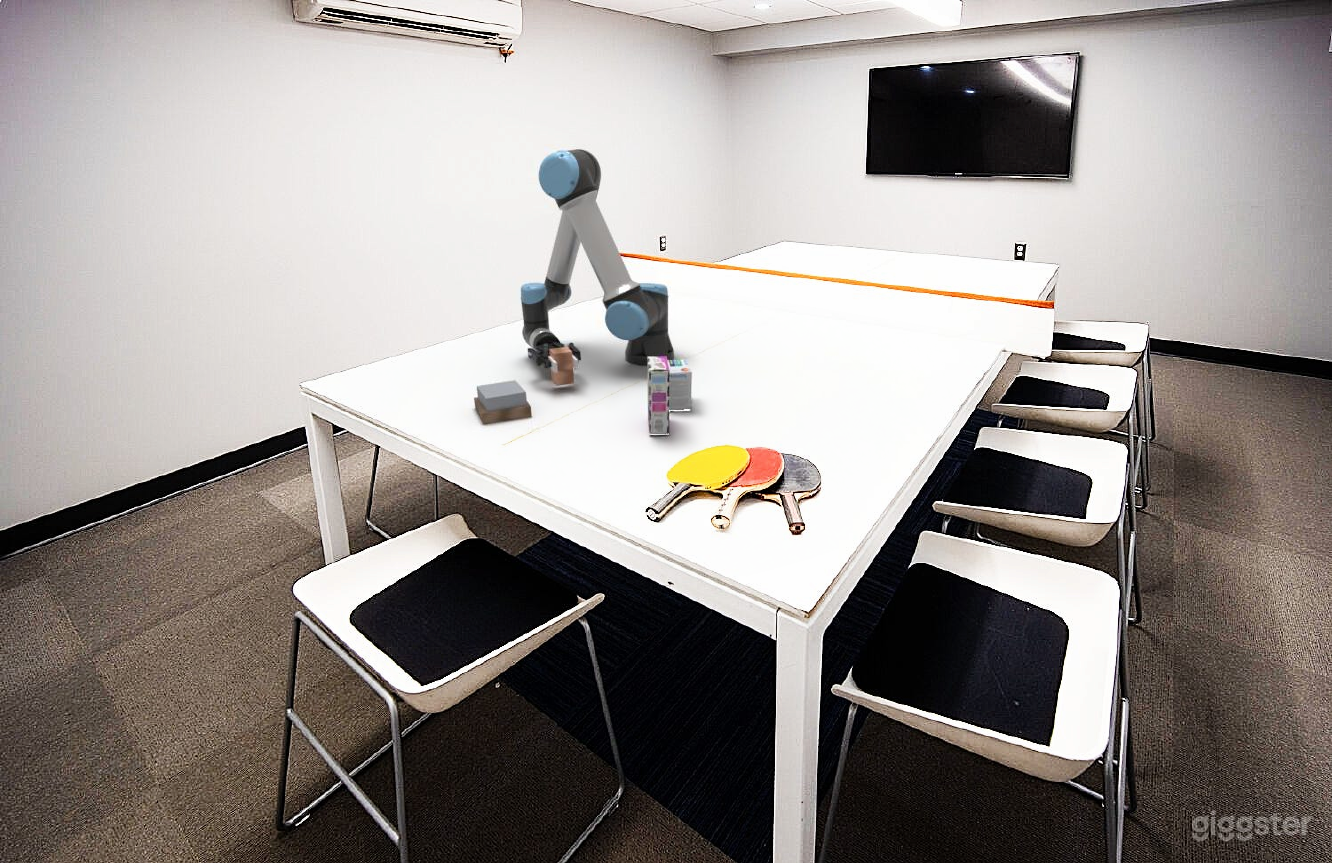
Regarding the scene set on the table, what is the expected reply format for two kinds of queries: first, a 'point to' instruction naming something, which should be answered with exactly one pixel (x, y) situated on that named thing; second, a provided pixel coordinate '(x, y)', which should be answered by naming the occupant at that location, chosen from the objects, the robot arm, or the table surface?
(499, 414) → the walnut slab
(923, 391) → the table surface
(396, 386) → the table surface
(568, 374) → the terracotta block
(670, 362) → the light bulb box
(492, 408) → the slate slab
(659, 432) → the candy bar box
